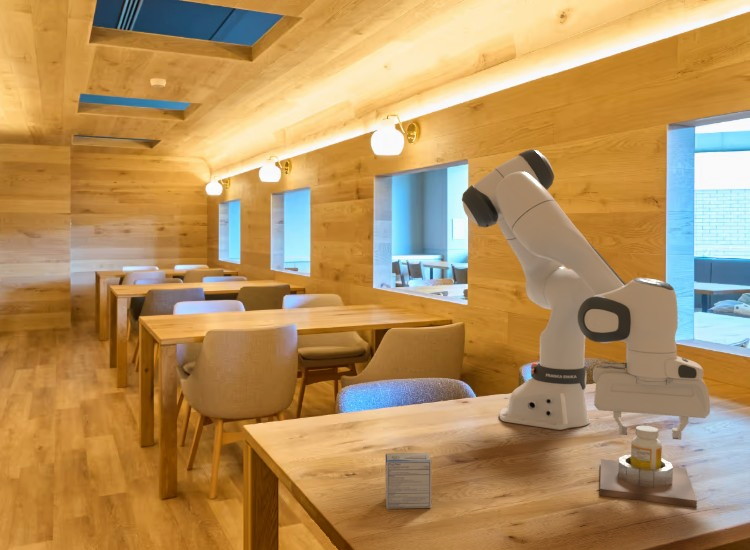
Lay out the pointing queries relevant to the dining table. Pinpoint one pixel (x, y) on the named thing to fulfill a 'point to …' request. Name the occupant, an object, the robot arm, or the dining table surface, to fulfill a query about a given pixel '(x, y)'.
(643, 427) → the supplement bottle
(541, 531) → the dining table surface
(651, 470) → the holder board
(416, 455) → the medicine box
